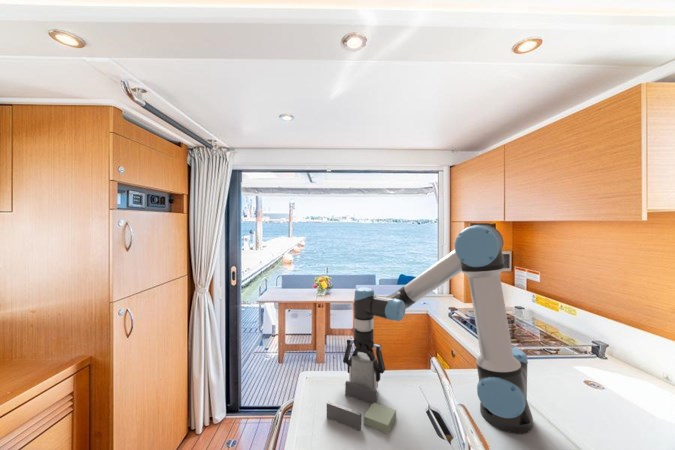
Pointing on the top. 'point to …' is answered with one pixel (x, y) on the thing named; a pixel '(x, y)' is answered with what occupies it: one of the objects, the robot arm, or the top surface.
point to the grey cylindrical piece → (363, 370)
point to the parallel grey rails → (349, 415)
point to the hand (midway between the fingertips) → (363, 384)
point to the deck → (380, 417)
